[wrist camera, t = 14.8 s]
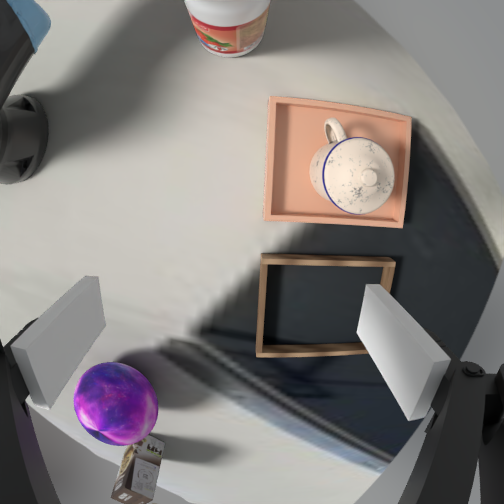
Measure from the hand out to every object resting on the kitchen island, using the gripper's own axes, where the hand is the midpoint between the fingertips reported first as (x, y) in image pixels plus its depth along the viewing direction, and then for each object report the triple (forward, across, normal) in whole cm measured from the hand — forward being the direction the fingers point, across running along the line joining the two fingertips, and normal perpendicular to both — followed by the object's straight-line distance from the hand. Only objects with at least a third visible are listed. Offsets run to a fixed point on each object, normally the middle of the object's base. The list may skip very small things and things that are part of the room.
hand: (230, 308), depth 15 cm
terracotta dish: (+31, +14, +7) cm, 34 cm away
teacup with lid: (+30, +13, +7) cm, 34 cm away
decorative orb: (+31, -20, -32) cm, 49 cm away
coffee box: (+31, -20, -53) cm, 65 cm away
